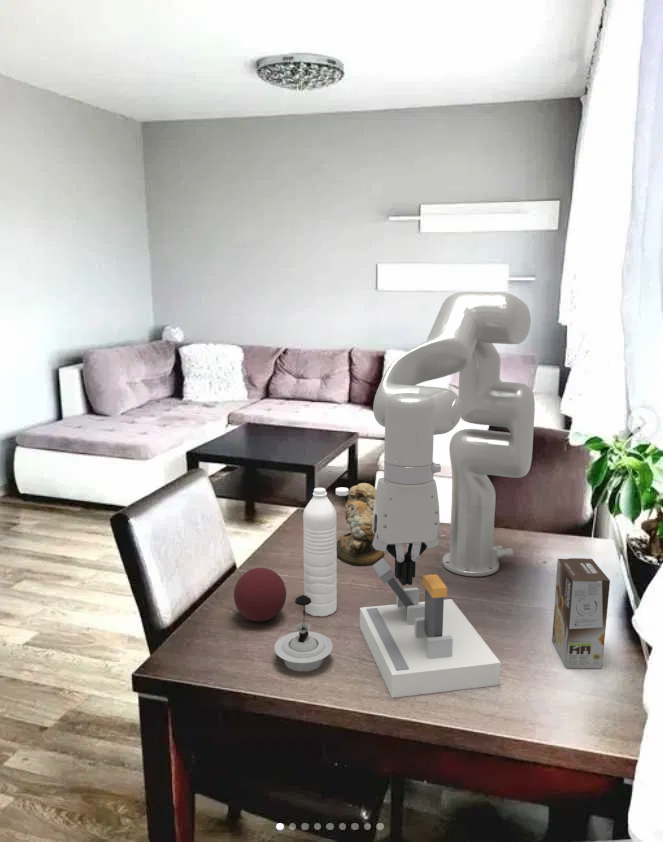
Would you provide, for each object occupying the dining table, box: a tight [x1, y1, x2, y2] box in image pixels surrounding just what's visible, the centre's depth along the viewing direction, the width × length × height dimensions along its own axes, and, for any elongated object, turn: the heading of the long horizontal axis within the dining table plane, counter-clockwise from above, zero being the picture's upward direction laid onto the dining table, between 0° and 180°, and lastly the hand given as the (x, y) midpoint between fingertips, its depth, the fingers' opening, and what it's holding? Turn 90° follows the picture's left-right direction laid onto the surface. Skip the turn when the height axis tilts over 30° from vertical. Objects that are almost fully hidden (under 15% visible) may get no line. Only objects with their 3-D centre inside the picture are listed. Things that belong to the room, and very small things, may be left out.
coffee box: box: [551, 557, 611, 670], centre depth 116 cm, size 9×6×16 cm
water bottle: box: [302, 486, 350, 617], centre depth 131 cm, size 9×6×25 cm
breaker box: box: [359, 586, 502, 699], centre depth 117 cm, size 18×22×7 cm
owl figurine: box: [336, 482, 385, 567], centre depth 160 cm, size 18×12×17 cm, turn 5°
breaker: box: [372, 557, 415, 608], centre depth 122 cm, size 2×5×11 cm
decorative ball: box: [233, 567, 287, 622], centre depth 129 cm, size 10×10×10 cm
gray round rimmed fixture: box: [274, 594, 334, 672], centre depth 114 cm, size 12×10×10 cm
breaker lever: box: [422, 573, 448, 638], centre depth 112 cm, size 2×5×11 cm, turn 11°
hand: (404, 581), depth 109 cm, fingers closed
